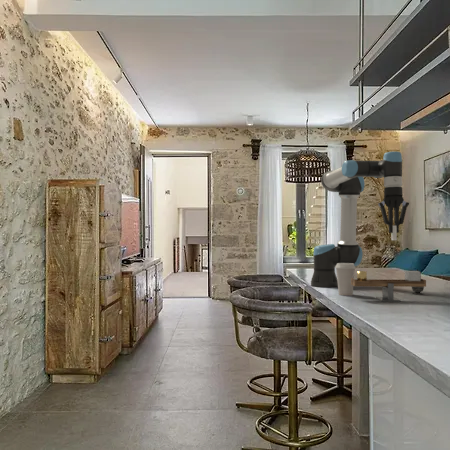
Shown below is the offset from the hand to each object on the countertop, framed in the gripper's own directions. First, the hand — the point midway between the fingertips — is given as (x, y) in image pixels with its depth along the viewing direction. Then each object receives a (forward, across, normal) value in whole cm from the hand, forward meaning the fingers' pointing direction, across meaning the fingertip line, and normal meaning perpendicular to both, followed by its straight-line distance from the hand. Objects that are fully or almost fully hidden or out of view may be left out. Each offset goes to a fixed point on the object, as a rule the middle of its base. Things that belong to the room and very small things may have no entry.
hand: (393, 240), depth 181 cm
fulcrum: (+26, -3, 0) cm, 27 cm away
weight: (+19, -14, 0) cm, 23 cm away
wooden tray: (+20, -3, 0) cm, 20 cm away
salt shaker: (+27, +17, +20) cm, 37 cm away
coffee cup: (+27, -18, +16) cm, 36 cm away
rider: (+19, +8, 0) cm, 20 cm away
